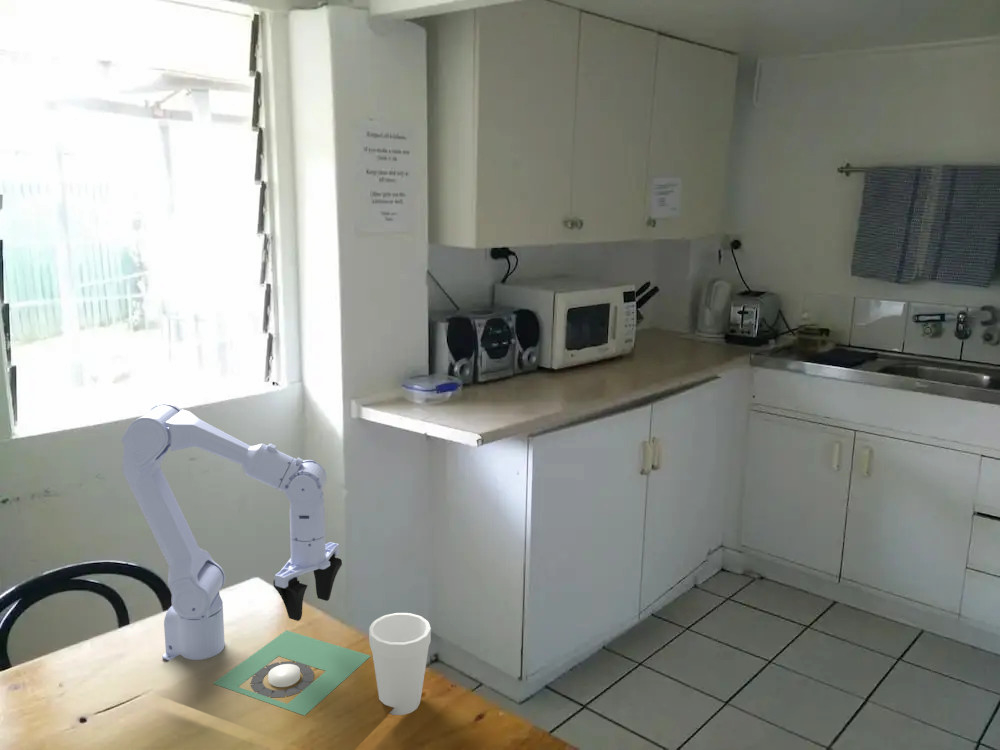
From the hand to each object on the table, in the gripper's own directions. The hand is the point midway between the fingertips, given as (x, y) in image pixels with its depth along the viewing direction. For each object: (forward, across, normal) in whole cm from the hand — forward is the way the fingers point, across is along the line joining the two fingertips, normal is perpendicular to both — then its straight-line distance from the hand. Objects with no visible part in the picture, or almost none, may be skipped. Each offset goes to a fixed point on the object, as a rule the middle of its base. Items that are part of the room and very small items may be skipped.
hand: (309, 608), depth 137 cm
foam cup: (+9, -4, -21) cm, 23 cm away
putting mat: (+9, -6, -2) cm, 11 cm away
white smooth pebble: (+9, -9, -2) cm, 13 cm away
